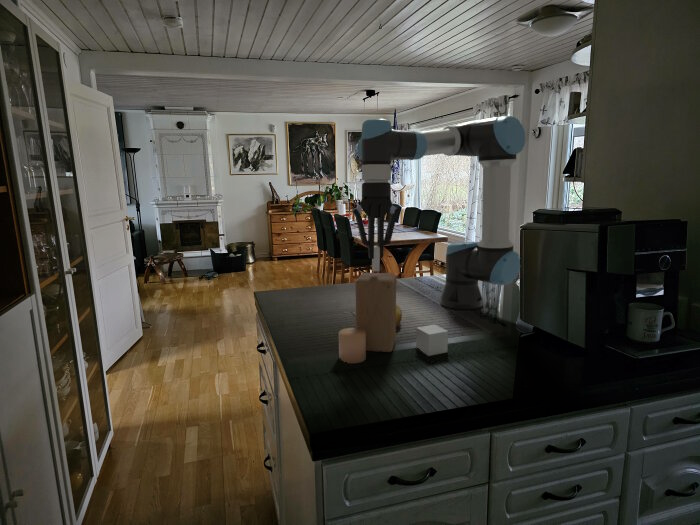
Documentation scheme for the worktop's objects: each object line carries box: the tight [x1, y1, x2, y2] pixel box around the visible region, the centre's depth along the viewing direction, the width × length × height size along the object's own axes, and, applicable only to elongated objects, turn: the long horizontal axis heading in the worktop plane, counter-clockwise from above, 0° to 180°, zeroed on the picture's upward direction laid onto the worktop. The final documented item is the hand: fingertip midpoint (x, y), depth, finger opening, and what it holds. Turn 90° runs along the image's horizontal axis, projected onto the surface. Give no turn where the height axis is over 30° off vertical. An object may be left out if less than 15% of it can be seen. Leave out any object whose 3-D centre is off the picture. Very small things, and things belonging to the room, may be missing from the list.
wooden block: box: [355, 272, 397, 353], centre depth 119 cm, size 10×10×20 cm
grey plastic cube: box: [415, 324, 449, 357], centre depth 117 cm, size 6×6×6 cm
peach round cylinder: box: [338, 327, 367, 364], centre depth 112 cm, size 7×7×7 cm
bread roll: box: [396, 303, 403, 327], centre depth 139 cm, size 13×10×8 cm
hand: (375, 270), depth 117 cm, fingers closed
